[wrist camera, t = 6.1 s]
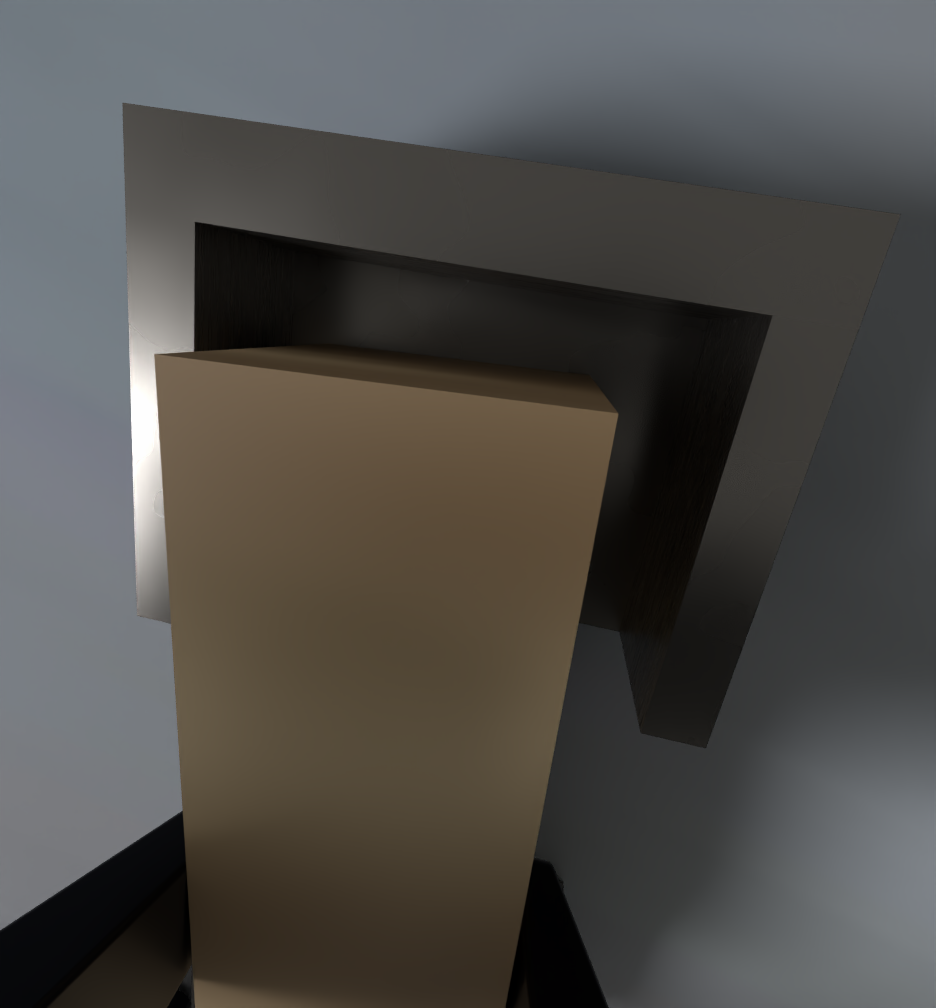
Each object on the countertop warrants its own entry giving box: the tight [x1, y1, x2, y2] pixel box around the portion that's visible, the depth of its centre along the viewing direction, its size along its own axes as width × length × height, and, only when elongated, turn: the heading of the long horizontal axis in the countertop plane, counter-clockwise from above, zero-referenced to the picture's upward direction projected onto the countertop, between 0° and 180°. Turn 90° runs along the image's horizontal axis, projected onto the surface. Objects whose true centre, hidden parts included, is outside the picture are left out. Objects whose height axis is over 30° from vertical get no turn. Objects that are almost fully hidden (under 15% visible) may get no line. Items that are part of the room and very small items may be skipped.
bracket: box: [123, 103, 901, 748], centre depth 8 cm, size 6×8×4 cm
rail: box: [154, 343, 618, 1008], centre depth 9 cm, size 14×4×4 cm, turn 174°
